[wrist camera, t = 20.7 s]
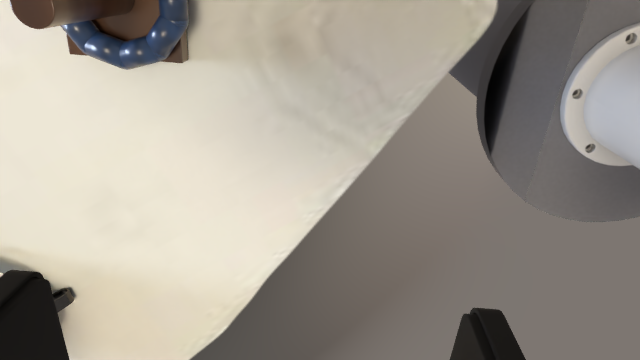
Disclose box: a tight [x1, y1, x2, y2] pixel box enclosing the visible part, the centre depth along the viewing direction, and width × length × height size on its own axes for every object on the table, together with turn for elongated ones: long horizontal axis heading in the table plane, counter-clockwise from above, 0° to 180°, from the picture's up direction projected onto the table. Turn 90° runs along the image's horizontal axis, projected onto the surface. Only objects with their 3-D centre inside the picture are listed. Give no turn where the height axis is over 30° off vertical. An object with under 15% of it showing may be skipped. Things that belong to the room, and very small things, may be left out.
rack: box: [10, 0, 188, 63], centre depth 28 cm, size 9×9×12 cm
